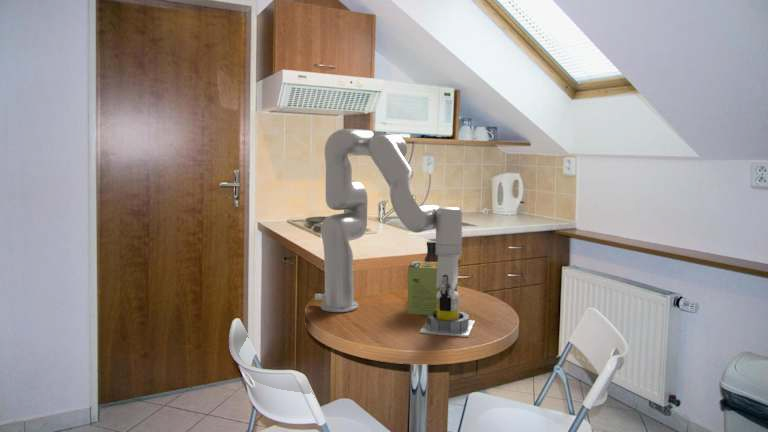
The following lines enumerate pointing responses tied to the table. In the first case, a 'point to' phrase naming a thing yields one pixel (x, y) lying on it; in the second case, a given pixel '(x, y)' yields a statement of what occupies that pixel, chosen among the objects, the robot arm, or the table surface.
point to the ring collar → (448, 325)
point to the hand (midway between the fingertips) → (448, 306)
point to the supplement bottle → (454, 307)
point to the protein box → (422, 287)
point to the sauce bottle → (431, 252)
